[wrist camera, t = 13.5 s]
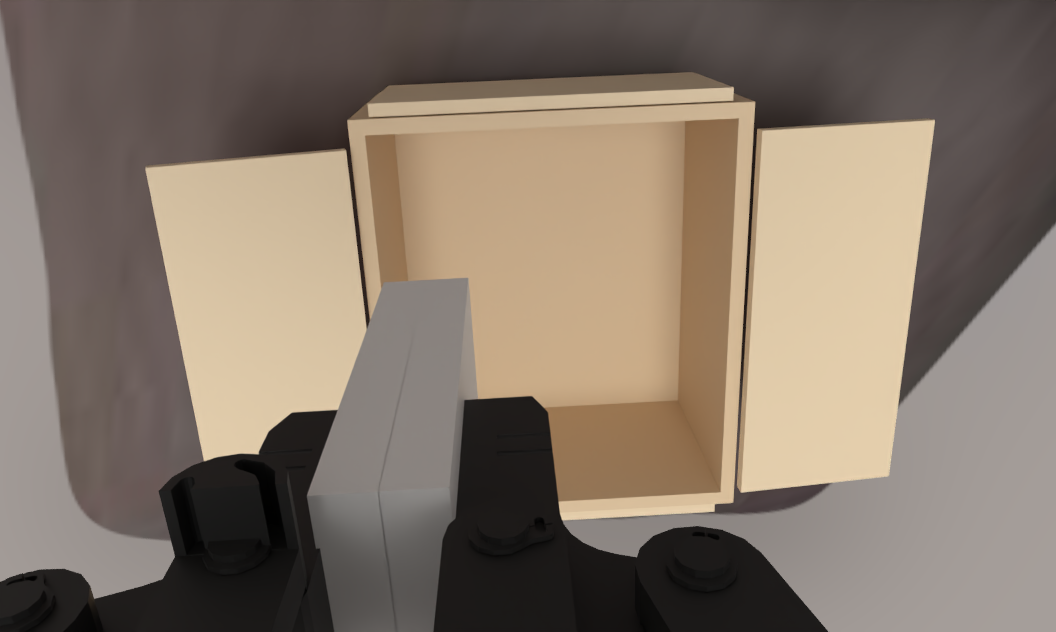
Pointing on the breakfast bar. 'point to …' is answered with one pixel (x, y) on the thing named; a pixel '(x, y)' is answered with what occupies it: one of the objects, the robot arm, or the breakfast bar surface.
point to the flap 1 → (260, 288)
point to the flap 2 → (829, 299)
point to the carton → (581, 262)
